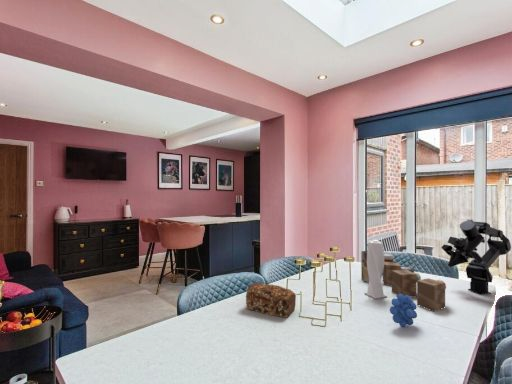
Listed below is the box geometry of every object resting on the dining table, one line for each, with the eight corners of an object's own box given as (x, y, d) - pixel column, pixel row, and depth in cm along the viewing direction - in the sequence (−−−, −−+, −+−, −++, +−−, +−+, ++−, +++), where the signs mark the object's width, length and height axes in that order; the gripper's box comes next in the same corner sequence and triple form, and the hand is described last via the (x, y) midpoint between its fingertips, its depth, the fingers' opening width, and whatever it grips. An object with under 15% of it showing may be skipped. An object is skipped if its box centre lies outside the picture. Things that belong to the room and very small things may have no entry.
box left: (398, 282, 150) (398, 262, 150) (401, 286, 143) (401, 266, 143) (382, 280, 153) (382, 261, 153) (384, 284, 146) (384, 264, 146)
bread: (245, 310, 113) (245, 285, 114) (257, 301, 123) (257, 279, 123) (287, 320, 105) (287, 293, 105) (296, 309, 114) (296, 285, 114)
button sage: (414, 280, 135) (414, 271, 135) (420, 283, 130) (420, 273, 130) (398, 280, 134) (398, 271, 134) (404, 283, 130) (404, 274, 130)
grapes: (400, 335, 93) (400, 299, 94) (385, 325, 100) (385, 292, 100) (426, 330, 97) (426, 296, 97) (410, 321, 103) (410, 289, 103)
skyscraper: (389, 298, 126) (389, 237, 126) (376, 301, 123) (376, 238, 123) (375, 292, 134) (375, 235, 134) (362, 294, 131) (362, 235, 131)
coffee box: (381, 283, 148) (381, 253, 148) (372, 284, 146) (372, 254, 146) (370, 278, 157) (370, 250, 157) (360, 279, 155) (360, 250, 155)
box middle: (407, 291, 136) (407, 270, 136) (416, 296, 129) (416, 274, 129) (391, 291, 135) (391, 270, 135) (400, 297, 128) (400, 274, 128)
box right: (428, 301, 122) (428, 278, 123) (445, 307, 116) (445, 282, 116) (417, 305, 119) (417, 280, 119) (433, 311, 113) (433, 285, 113)
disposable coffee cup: (397, 276, 160) (397, 256, 160) (380, 276, 160) (380, 256, 160) (389, 272, 169) (389, 252, 169) (373, 272, 169) (373, 252, 169)
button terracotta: (435, 288, 123) (435, 278, 123) (446, 292, 119) (446, 281, 119) (423, 291, 119) (423, 281, 119) (434, 295, 115) (434, 284, 115)
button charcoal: (412, 273, 147) (412, 264, 147) (414, 275, 142) (414, 267, 142) (395, 272, 149) (395, 263, 149) (396, 274, 145) (396, 265, 145)
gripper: (444, 228, 142) (424, 250, 141) (476, 233, 123) (453, 259, 122) (459, 243, 142) (439, 265, 141) (492, 251, 124) (470, 276, 123)
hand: (449, 266), depth 132 cm, fingers closed
